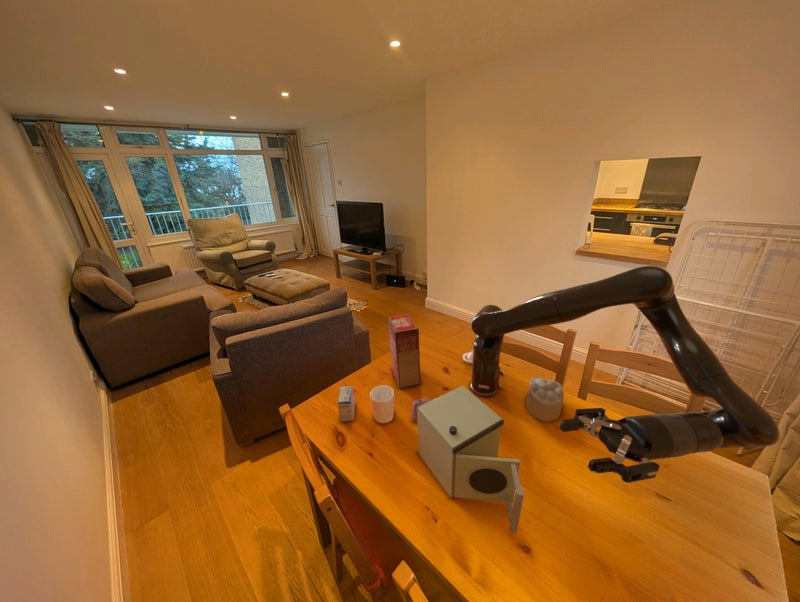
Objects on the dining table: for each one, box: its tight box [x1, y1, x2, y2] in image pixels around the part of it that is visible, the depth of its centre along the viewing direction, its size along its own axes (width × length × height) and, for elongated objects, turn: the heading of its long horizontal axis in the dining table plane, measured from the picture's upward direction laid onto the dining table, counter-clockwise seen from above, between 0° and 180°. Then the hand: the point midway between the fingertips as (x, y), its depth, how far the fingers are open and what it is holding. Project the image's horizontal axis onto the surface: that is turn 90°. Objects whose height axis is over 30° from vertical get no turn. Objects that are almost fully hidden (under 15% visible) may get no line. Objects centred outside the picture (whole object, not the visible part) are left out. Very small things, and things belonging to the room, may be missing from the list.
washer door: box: [453, 454, 525, 534], centre depth 66 cm, size 14×8×14 cm, turn 82°
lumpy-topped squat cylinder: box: [526, 377, 565, 423], centre depth 98 cm, size 10×13×9 cm
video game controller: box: [411, 398, 433, 423], centre depth 98 cm, size 10×5×7 cm, turn 84°
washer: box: [416, 385, 505, 499], centre depth 80 cm, size 16×16×19 cm
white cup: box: [369, 384, 395, 424], centre depth 98 cm, size 8×8×10 cm
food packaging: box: [387, 313, 422, 390], centre depth 114 cm, size 13×9×25 cm
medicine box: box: [337, 385, 356, 423], centre depth 100 cm, size 8×4×9 cm, turn 5°
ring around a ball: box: [462, 349, 473, 365], centre depth 125 cm, size 8×6×8 cm
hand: (574, 444), depth 55 cm, fingers open, 8 cm apart
